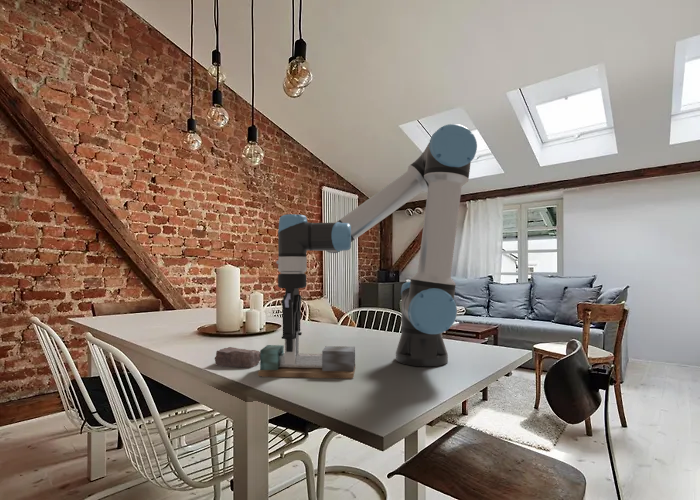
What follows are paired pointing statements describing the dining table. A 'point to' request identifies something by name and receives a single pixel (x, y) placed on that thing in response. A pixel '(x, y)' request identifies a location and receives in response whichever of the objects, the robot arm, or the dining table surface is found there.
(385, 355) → the dining table surface
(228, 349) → the stone
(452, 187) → the robot arm
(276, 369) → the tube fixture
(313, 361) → the grey bar with post
